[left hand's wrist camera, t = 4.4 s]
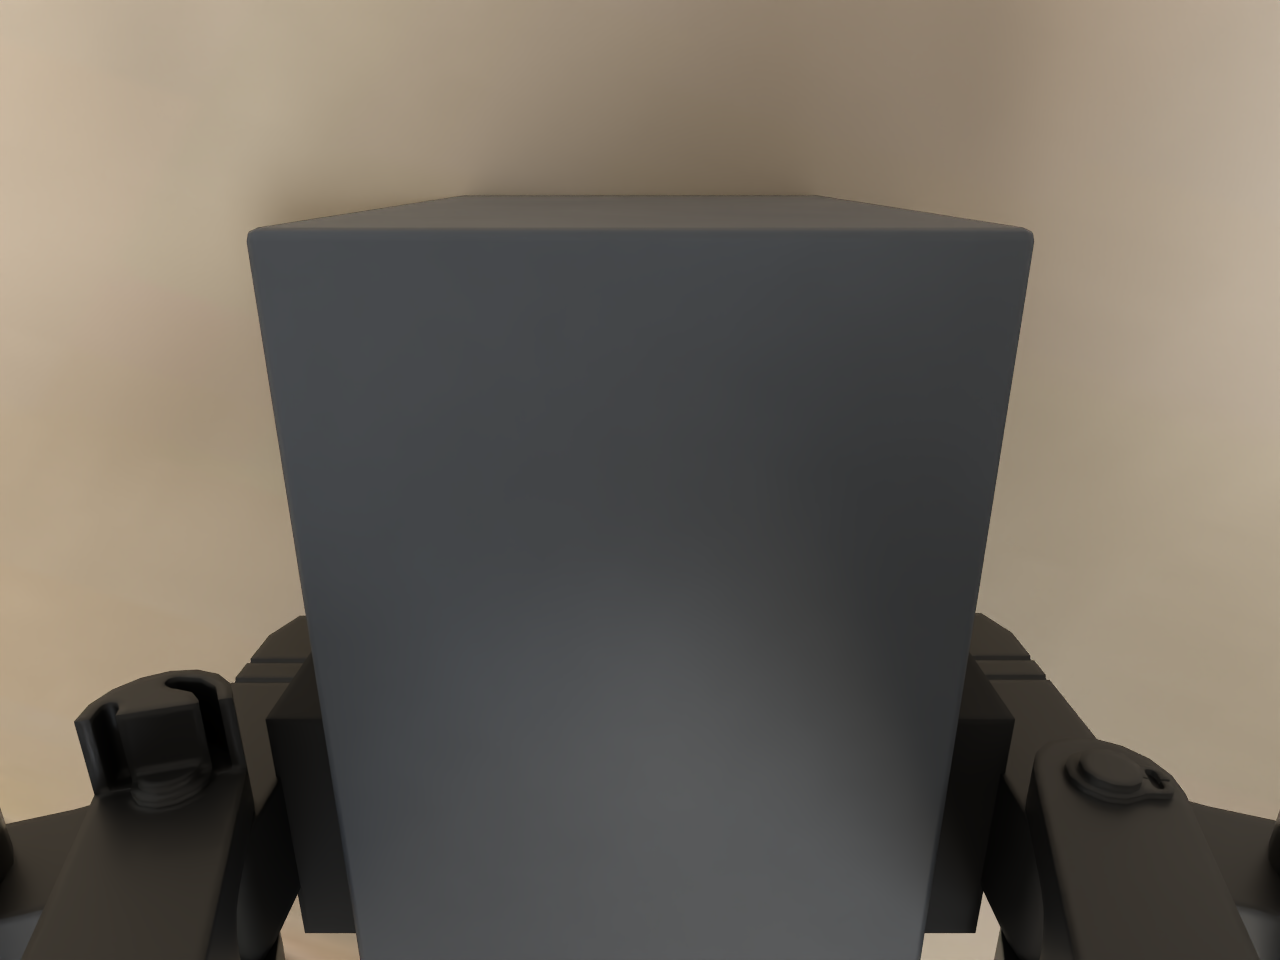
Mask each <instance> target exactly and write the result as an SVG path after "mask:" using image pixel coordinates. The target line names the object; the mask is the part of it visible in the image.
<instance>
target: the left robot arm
mask: <svg viewBox="0 0 1280 960" xmlns="http://www.w3.org/2000/svg"><path fill="white" fill-rule="evenodd" d="M74 723H75V727H76V730H77V734H78V738H79V741H80V745H81V748H82V752H83V755H84V759H85V762H86V766H87V769H88V773H89V777H90V780H91V784H92V787H93V791H94V794H95V796H94V798H93V800H92V802H91V804H90V805H89V806H86V807H82V808H78V809H75V810H70V811H66V812H61V813H56V814H52V815H47V816H42V817H37V818H33V819H28V820H23V821H19V822H14V823H9V824H5V821H4V818H3V815H2V812H1V809H0V960H285V955H284V948H283V943H282V938H281V933H280V930H281V928H282V926H283V924H284V922H285V920H286V918H287V915H288V913H289V911H290V909H291V907H292V905H293V903H294V901H295V899H296V896H297V894H298V897H299V903H300V908H301V913H302V919H303V924H304V929H305V933H356V929H355V923H354V917H353V910H352V904H351V898H350V891H349V885H348V879H347V872H346V866H345V860H344V853H343V847H342V841H341V835H340V828H339V822H338V816H337V809H336V803H335V797H334V790H333V784H332V778H331V771H330V765H329V759H328V752H327V746H326V740H325V733H324V727H323V721H322V714H321V708H320V702H319V695H318V689H317V683H316V676H315V670H314V664H313V657H312V651H311V645H310V638H309V632H308V626H307V619H306V616H299V617H297V618H296V619H294V620H293V621H291V622H290V623H288V624H286V625H285V626H283V627H282V628H280V629H279V630H277V631H276V632H274V633H272V634H271V635H269V636H268V638H267V639H266V640H265V641H264V643H263V644H262V645H261V646H260V648H259V649H258V650H257V651H256V653H255V654H254V655H253V657H252V658H251V663H247V664H246V665H245V667H244V668H243V669H242V670H241V672H240V673H239V674H238V675H237V677H236V681H235V683H231V684H230V683H229V682H228V681H227V680H225V679H224V678H223V677H221V676H220V675H219V674H215V673H211V672H206V671H201V670H182V671H169V672H164V673H160V674H156V675H151V676H147V677H143V678H140V679H137V680H135V681H132V682H130V683H127V684H125V685H123V686H120V687H118V688H115V689H113V690H111V691H110V692H108V693H107V694H105V695H103V696H102V697H100V698H99V699H97V700H96V701H94V702H93V703H91V704H90V705H88V707H87V708H86V709H85V710H84V711H83V712H82V713H81V715H80V716H79V717H78V718H77V719H76V720H75V721H74ZM983 891H984V893H985V895H986V897H987V900H988V902H989V904H990V906H991V908H992V910H993V912H994V914H995V916H996V919H997V921H998V923H999V925H1000V927H1001V928H1000V933H999V938H998V943H997V948H996V953H995V958H994V960H1280V811H1279V814H1278V817H1277V820H1276V821H1275V820H1270V819H1265V818H1260V817H1256V816H1251V815H1246V814H1241V813H1237V812H1232V811H1227V810H1223V809H1218V808H1213V807H1208V806H1205V805H1201V804H1197V803H1194V802H1190V801H1188V798H1187V796H1186V794H1185V793H1184V791H1183V790H1182V789H1181V787H1180V786H1179V785H1178V783H1177V782H1176V781H1175V779H1174V778H1173V777H1172V775H1170V774H1169V773H1168V772H1166V771H1165V770H1164V769H1162V768H1161V767H1160V766H1158V765H1157V764H1156V763H1154V762H1153V761H1152V760H1150V759H1149V758H1147V757H1144V756H1142V755H1140V754H1138V753H1136V752H1134V751H1132V750H1130V749H1127V748H1125V747H1123V746H1120V745H1116V744H1113V743H1109V742H1105V741H1101V740H1097V739H1096V737H1095V736H1094V735H1093V734H1092V732H1091V731H1090V730H1089V729H1088V727H1087V726H1086V725H1085V724H1084V722H1083V721H1082V720H1081V719H1080V717H1079V716H1078V715H1077V714H1076V712H1075V711H1074V710H1073V709H1072V707H1071V706H1070V705H1069V704H1068V702H1067V701H1066V700H1065V699H1064V697H1063V696H1062V695H1061V694H1060V692H1059V691H1058V690H1057V689H1056V687H1055V686H1054V685H1053V684H1052V682H1051V681H1050V680H1046V675H1045V674H1044V672H1043V671H1042V670H1041V669H1040V667H1039V666H1038V665H1037V664H1036V662H1035V661H1034V660H1030V655H1029V654H1028V652H1027V651H1026V650H1025V649H1024V647H1023V646H1022V645H1021V644H1020V642H1019V641H1018V640H1017V639H1016V637H1015V636H1014V635H1013V634H1012V633H1011V632H1010V631H1008V630H1007V629H1005V628H1003V627H1002V626H1000V625H999V624H997V623H996V622H994V621H992V620H991V619H989V618H988V617H986V616H985V615H983V614H981V613H975V617H974V624H973V630H972V636H971V643H970V649H969V655H968V661H967V668H966V674H965V680H964V687H963V693H962V699H961V706H960V712H959V718H958V725H957V731H956V737H955V744H954V750H953V756H952V762H951V769H950V775H949V781H948V788H947V794H946V800H945V807H944V813H943V819H942V826H941V832H940V838H939V845H938V851H937V857H936V863H935V870H934V876H933V882H932V889H931V895H930V901H929V908H928V914H927V920H926V927H925V933H975V932H976V927H977V922H978V916H979V911H980V906H981V900H982V895H983Z"/></svg>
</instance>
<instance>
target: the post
mask: <svg viewBox="0 0 1280 960" xmlns="http://www.w3.org/2000/svg"><path fill="white" fill-rule="evenodd" d="M1033 245H1034V238H1033V233H1032V232H1031V231H1029V230H1027V229H1025V228H1022V227H1016V226H1009V225H1003V224H996V223H990V222H983V221H977V220H971V219H964V218H958V217H951V216H945V215H938V214H932V213H926V212H919V211H913V210H906V209H900V208H893V207H887V206H880V205H874V204H868V203H861V202H855V201H848V200H842V199H835V198H829V197H823V196H458V197H451V198H445V199H439V200H432V201H426V202H419V203H413V204H406V205H400V206H394V207H387V208H381V209H374V210H368V211H361V212H355V213H349V214H342V215H336V216H329V217H323V218H316V219H310V220H304V221H297V222H291V223H284V224H278V225H272V226H265V227H259V228H256V229H254V230H252V231H249V233H248V237H247V246H248V252H249V259H250V265H251V271H252V278H253V284H254V290H255V297H256V303H257V309H258V316H259V322H260V328H261V335H262V341H263V347H264V354H265V360H266V366H267V373H268V379H269V385H270V392H271V398H272V404H273V411H274V417H275V423H276V430H277V436H278V442H279V449H280V455H281V461H282V468H283V474H284V480H285V487H286V493H287V499H288V505H289V512H290V518H291V524H292V531H293V537H294V543H295V550H296V556H297V562H298V569H299V575H300V581H301V588H302V594H303V600H304V607H305V613H306V619H307V626H308V632H309V638H310V645H311V651H312V657H313V664H314V670H315V676H316V683H317V689H318V695H319V702H320V708H321V714H322V721H323V727H324V733H325V740H326V746H327V752H328V759H329V765H330V771H331V778H332V784H333V790H334V797H335V803H336V809H337V816H338V822H339V828H340V835H341V841H342V847H343V853H344V860H345V866H346V872H347V879H348V885H349V891H350V898H351V904H352V910H353V917H354V923H355V929H356V936H357V942H358V948H359V955H360V960H920V958H921V952H922V946H923V939H924V933H925V927H926V920H927V914H928V908H929V901H930V895H931V889H932V882H933V876H934V870H935V863H936V857H937V851H938V845H939V838H940V832H941V826H942V819H943V813H944V807H945V800H946V794H947V788H948V781H949V775H950V769H951V762H952V756H953V750H954V744H955V737H956V731H957V725H958V718H959V712H960V706H961V699H962V693H963V687H964V680H965V674H966V668H967V661H968V655H969V649H970V643H971V636H972V630H973V624H974V617H975V611H976V605H977V598H978V592H979V586H980V579H981V573H982V567H983V560H984V554H985V548H986V542H987V535H988V529H989V523H990V516H991V510H992V504H993V497H994V491H995V485H996V478H997V472H998V466H999V459H1000V453H1001V447H1002V440H1003V434H1004V428H1005V422H1006V415H1007V409H1008V403H1009V396H1010V390H1011V384H1012V377H1013V371H1014V365H1015V358H1016V352H1017V346H1018V339H1019V333H1020V327H1021V321H1022V314H1023V308H1024V302H1025V295H1026V289H1027V283H1028V276H1029V270H1030V264H1031V257H1032V251H1033Z"/></svg>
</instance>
